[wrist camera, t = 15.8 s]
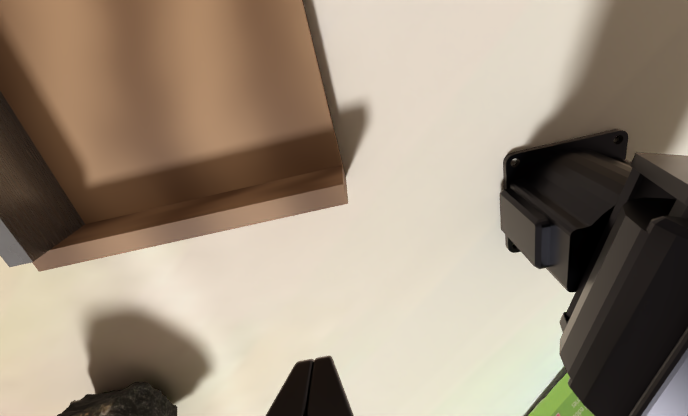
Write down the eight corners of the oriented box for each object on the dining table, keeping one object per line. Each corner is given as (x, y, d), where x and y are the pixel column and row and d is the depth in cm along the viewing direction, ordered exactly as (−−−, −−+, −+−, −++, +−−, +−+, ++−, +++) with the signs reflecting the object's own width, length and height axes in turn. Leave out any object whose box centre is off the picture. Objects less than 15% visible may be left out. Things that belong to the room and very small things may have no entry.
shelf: (281, -89, 14) (265, -126, 11) (345, 177, 19) (348, 203, 16) (-62, 11, 15) (-164, 2, 12) (84, 236, 21) (39, 271, 17)
